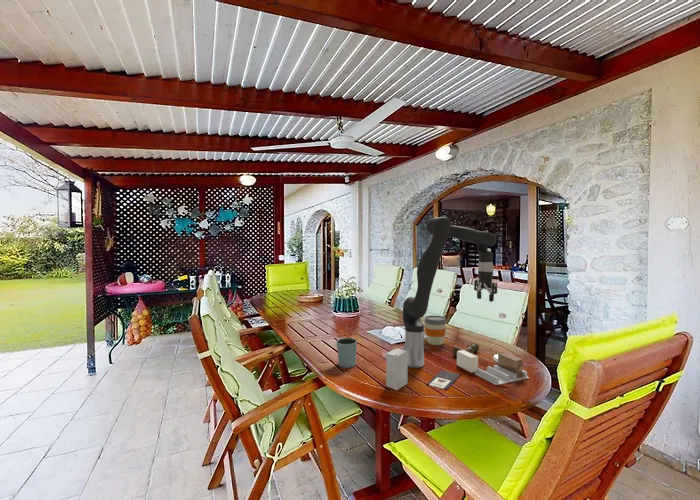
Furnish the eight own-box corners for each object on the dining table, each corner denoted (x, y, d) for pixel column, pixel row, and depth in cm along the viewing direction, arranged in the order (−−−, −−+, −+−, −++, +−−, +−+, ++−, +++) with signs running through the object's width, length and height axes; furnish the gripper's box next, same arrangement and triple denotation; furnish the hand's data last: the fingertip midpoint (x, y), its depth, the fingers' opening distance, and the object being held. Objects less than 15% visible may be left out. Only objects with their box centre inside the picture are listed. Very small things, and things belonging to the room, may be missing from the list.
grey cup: (360, 363, 175) (360, 339, 175) (350, 369, 167) (350, 345, 166) (343, 359, 181) (343, 336, 180) (332, 366, 172) (332, 342, 171)
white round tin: (518, 363, 174) (518, 356, 174) (511, 369, 166) (511, 361, 166) (497, 358, 181) (497, 352, 180) (490, 364, 173) (490, 357, 173)
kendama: (483, 354, 188) (465, 363, 174) (466, 350, 195) (448, 358, 181) (483, 343, 188) (465, 351, 174) (466, 340, 195) (448, 347, 181)
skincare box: (396, 380, 154) (396, 347, 153) (408, 384, 150) (408, 350, 149) (385, 386, 148) (385, 352, 147) (397, 391, 144) (396, 355, 143)
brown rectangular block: (515, 378, 152) (515, 360, 152) (498, 370, 162) (498, 353, 161) (522, 377, 154) (522, 359, 153) (504, 369, 163) (504, 352, 163)
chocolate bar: (460, 374, 159) (446, 388, 144) (460, 376, 159) (446, 391, 144) (441, 370, 164) (426, 383, 149) (441, 372, 164) (426, 385, 149)
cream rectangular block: (471, 374, 160) (471, 357, 159) (456, 367, 169) (456, 351, 169) (478, 373, 161) (478, 356, 161) (463, 366, 170) (463, 349, 170)
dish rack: (495, 387, 146) (495, 379, 146) (474, 375, 158) (474, 368, 158) (529, 379, 153) (529, 372, 153) (506, 369, 165) (506, 362, 165)
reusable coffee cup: (447, 346, 200) (447, 320, 199) (425, 345, 202) (425, 320, 201) (444, 340, 212) (444, 315, 212) (423, 339, 214) (423, 315, 214)
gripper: (470, 269, 192) (470, 298, 193) (490, 271, 179) (490, 303, 180) (481, 268, 195) (480, 297, 196) (501, 271, 182) (500, 301, 183)
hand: (485, 300), depth 188 cm, fingers open, 8 cm apart
